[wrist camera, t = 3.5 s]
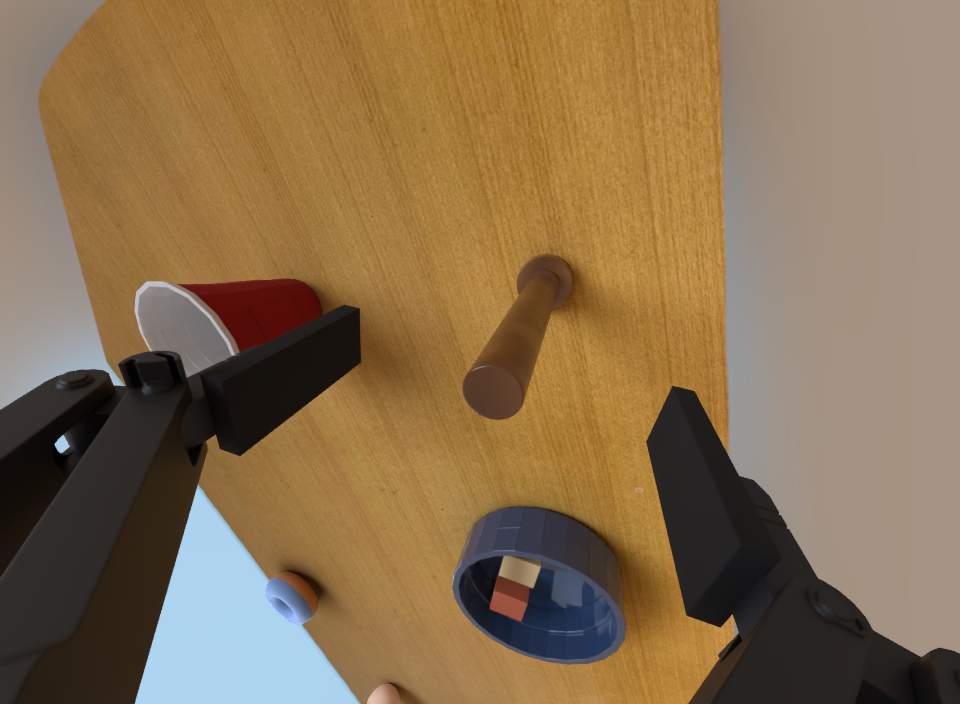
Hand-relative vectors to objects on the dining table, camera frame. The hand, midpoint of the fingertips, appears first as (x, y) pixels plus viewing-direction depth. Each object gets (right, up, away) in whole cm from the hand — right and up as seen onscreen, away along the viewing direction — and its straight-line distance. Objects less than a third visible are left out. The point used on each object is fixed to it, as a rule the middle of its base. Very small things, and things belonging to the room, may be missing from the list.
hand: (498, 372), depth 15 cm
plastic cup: (-20, +6, +23) cm, 31 cm away
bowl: (+7, -25, +28) cm, 38 cm away
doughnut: (-33, -42, +49) cm, 73 cm away
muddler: (+5, +7, +14) cm, 16 cm away
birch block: (+5, -21, +27) cm, 35 cm away
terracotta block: (+4, -28, +30) cm, 41 cm away
